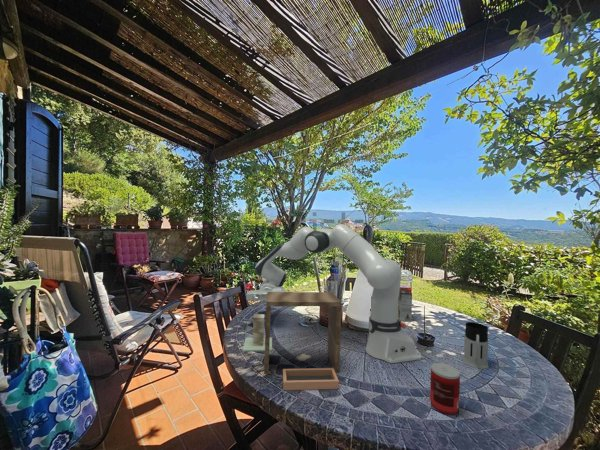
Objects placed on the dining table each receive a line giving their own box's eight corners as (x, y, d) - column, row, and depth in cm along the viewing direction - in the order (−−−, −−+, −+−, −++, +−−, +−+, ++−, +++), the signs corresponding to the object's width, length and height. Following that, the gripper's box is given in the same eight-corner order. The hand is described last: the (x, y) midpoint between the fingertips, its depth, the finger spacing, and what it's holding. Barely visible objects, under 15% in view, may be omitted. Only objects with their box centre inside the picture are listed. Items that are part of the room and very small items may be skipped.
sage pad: (272, 338, 123) (272, 337, 123) (271, 351, 111) (271, 349, 111) (245, 339, 122) (245, 337, 122) (242, 351, 110) (242, 350, 110)
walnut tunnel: (331, 353, 110) (333, 292, 110) (339, 372, 96) (341, 302, 96) (265, 354, 108) (267, 291, 108) (264, 374, 94) (266, 301, 94)
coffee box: (397, 315, 161) (398, 289, 161) (408, 317, 160) (409, 290, 160) (399, 321, 152) (400, 293, 152) (411, 322, 151) (412, 294, 151)
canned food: (448, 397, 84) (449, 362, 84) (465, 415, 76) (466, 377, 76) (424, 397, 84) (425, 362, 84) (438, 415, 76) (440, 376, 76)
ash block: (263, 341, 119) (264, 314, 119) (263, 345, 114) (264, 317, 114) (253, 341, 118) (254, 314, 118) (252, 345, 114) (253, 317, 114)
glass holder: (487, 361, 108) (488, 324, 108) (491, 378, 96) (492, 336, 96) (462, 355, 113) (463, 320, 113) (463, 370, 101) (464, 330, 101)
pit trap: (333, 375, 95) (333, 368, 95) (338, 388, 87) (338, 381, 87) (282, 376, 93) (282, 368, 93) (283, 390, 85) (283, 382, 85)
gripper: (247, 286, 142) (244, 292, 128) (285, 286, 144) (287, 292, 130) (247, 298, 142) (244, 306, 128) (285, 298, 143) (286, 305, 130)
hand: (266, 299), depth 129 cm, fingers open, 8 cm apart
